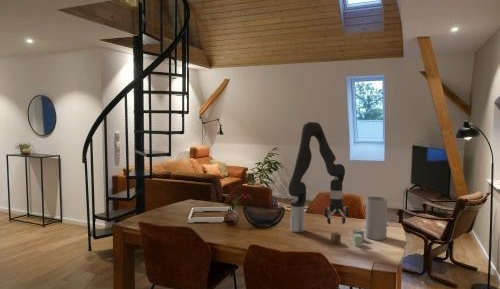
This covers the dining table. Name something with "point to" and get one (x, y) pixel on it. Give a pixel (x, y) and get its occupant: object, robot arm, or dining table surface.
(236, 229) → the dining table surface
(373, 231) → the cylinder vase
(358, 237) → the sage block
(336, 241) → the walnut block
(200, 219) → the white square frame
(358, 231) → the grey block
